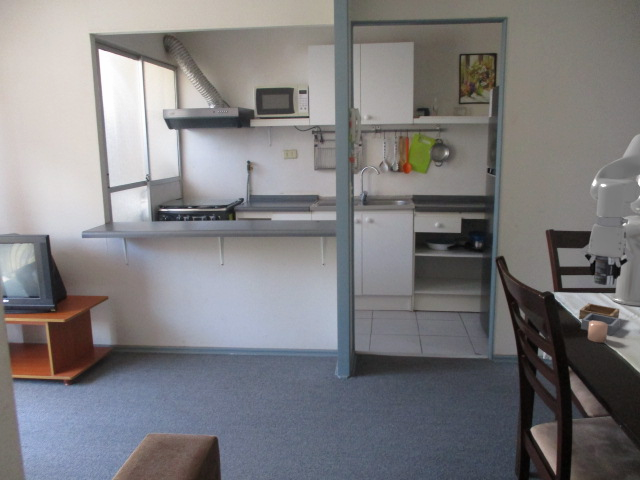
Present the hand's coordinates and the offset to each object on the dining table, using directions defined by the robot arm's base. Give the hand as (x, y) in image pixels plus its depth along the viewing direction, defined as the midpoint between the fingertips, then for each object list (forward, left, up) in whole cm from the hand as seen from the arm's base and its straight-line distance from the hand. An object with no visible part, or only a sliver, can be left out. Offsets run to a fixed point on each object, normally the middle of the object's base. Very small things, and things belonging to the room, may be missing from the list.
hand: (604, 275), depth 175 cm
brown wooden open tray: (-3, -1, -16) cm, 16 cm away
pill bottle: (0, 0, -3) cm, 3 cm away
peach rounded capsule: (+17, +4, -16) cm, 23 cm away
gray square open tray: (+6, +2, -16) cm, 17 cm away
